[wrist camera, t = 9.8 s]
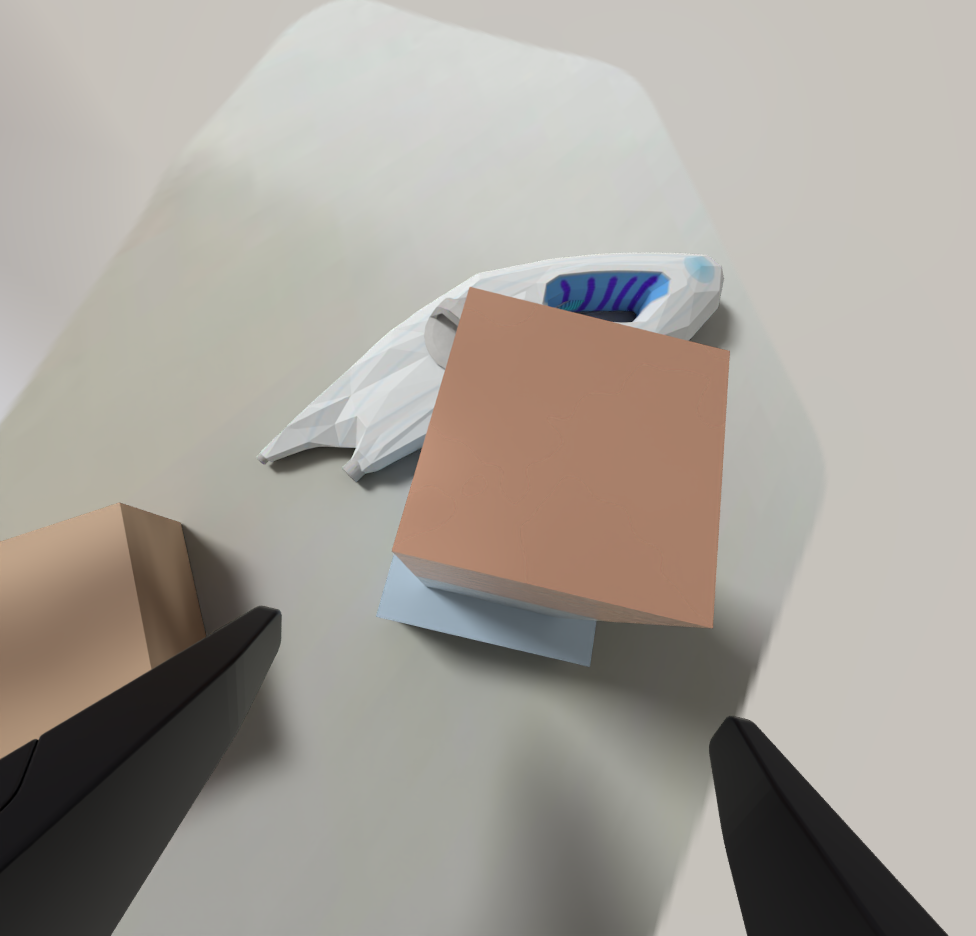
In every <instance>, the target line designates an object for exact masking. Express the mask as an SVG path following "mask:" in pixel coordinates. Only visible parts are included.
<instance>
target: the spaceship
mask: <svg viewBox="0 0 976 936" xmlns="http://www.w3.org/2000/svg"><path fill="white" fill-rule="evenodd" d="M723 280H724V277H723V271H722V266H721V265H720V264H718V263H717V262H716V261H715V260H714V259H712V258H711V257H710V256H709V255H701V254H683V253H641V252H637V253H608V254H593V255H583V256H573V257H563V258H554V259H547V260H542V261H537V262H532V263H527V264H522V265H517V266H512V267H507V268H502V269H497V270H492V271H486V272H481V273H477V274H476V275H474V276H472V277H471V278H469V279H468V280H466V281H465V282H463V283H461V284H460V285H458V286H457V287H455V288H453V289H452V290H450V291H449V292H447V293H445V294H444V295H442V296H441V297H439V298H438V299H436V300H434V301H433V302H431V303H430V304H428V305H426V306H425V307H423V308H422V309H420V310H419V311H417V312H416V313H414V314H413V315H412V316H411V317H409V318H408V319H407V320H405V321H404V322H402V323H401V324H399V325H398V326H396V327H395V328H393V329H392V330H391V331H390V332H388V333H387V334H386V335H385V336H384V337H383V338H382V339H381V340H380V341H379V342H377V343H376V344H375V345H374V346H373V347H372V348H371V349H370V350H369V351H368V352H367V353H366V354H365V355H363V356H362V357H361V358H360V359H359V360H358V361H357V362H356V363H355V364H354V365H353V366H352V367H351V368H350V369H348V370H347V371H346V372H345V373H344V374H343V375H342V376H341V377H339V378H338V379H337V380H336V381H335V382H334V383H333V384H332V385H331V386H329V387H328V388H327V389H326V390H325V391H324V392H323V393H322V394H321V395H319V396H318V397H317V398H316V399H315V400H314V401H313V402H312V403H311V404H309V405H308V406H307V407H306V408H305V409H304V410H303V411H302V412H301V413H300V414H299V415H298V416H297V417H296V418H295V419H294V420H292V421H291V422H290V423H289V424H288V425H287V426H286V427H285V428H284V429H283V430H282V431H281V432H280V433H279V434H278V435H277V436H276V437H275V438H274V439H273V440H272V441H271V442H270V443H269V444H268V445H267V446H266V447H265V448H264V449H263V450H262V451H261V452H260V454H259V455H258V456H256V458H257V459H258V460H259V461H260V462H261V463H263V464H266V463H267V462H268V461H270V462H273V461H275V460H278V459H281V458H283V457H286V456H289V455H292V454H294V453H297V452H300V451H303V450H306V449H310V448H314V447H319V446H320V447H349V448H356V449H355V451H354V453H353V456H352V458H351V459H350V460H349V461H348V462H347V463H346V464H345V465H344V466H343V467H342V469H343V470H344V471H345V472H346V473H347V474H348V475H349V476H350V477H351V478H352V479H353V480H354V481H355V482H357V481H358V480H359V479H360V478H361V477H362V476H363V475H364V474H366V473H371V472H376V471H378V470H380V469H382V468H384V467H386V466H388V465H390V464H391V463H393V462H395V461H397V460H399V459H401V458H403V457H405V456H407V455H409V454H411V453H413V452H414V451H416V450H418V449H420V448H422V447H423V443H424V440H425V436H426V433H427V430H428V426H429V423H430V419H431V416H432V413H433V409H434V406H435V402H436V399H437V396H438V392H439V389H440V385H441V382H442V379H443V375H444V372H445V368H446V365H447V362H448V358H449V355H450V351H451V348H452V345H453V341H454V338H455V334H456V331H457V328H458V324H459V321H460V317H461V314H462V311H463V307H464V304H465V300H466V297H467V294H468V290H469V287H473V288H477V289H481V290H485V291H489V292H493V293H497V294H501V295H505V296H509V297H513V298H517V299H521V300H525V301H530V302H534V303H538V304H542V305H546V306H550V307H554V308H558V309H562V310H566V311H570V312H582V311H633V312H634V313H636V319H635V320H634V321H633V322H625V323H619V322H614V323H618V324H622V325H626V326H631V327H635V328H639V329H643V330H647V331H651V332H655V333H659V334H663V335H667V336H671V337H675V338H679V339H683V340H687V341H689V340H690V339H691V338H692V337H693V335H694V334H695V333H696V332H697V331H698V330H699V329H700V328H701V326H702V325H703V324H704V323H705V322H706V321H707V320H708V319H709V317H710V316H711V315H712V314H713V313H714V312H715V311H716V310H717V308H718V307H719V301H720V296H721V291H722V286H723Z"/></svg>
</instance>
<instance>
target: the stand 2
mask: <svg viewBox="0 0 976 936" xmlns="http://www.w3.org/2000/svg"><path fill="white" fill-rule="evenodd" d="M376 617H380V618H384V619H388V620H393V621H397V622H401V623H405V624H410V625H414V626H418V627H422V628H427V629H431V630H435V631H439V632H444V633H448V634H452V635H456V636H461V637H465V638H469V639H473V640H478V641H482V642H486V643H490V644H494V645H499V646H503V647H507V648H511V649H516V650H520V651H524V652H528V653H533V654H537V655H541V656H545V657H550V658H554V659H558V660H562V661H567V662H571V663H575V664H579V665H584V666H588V667H590V664H591V656H592V649H593V642H594V635H595V627H596V621H594V620H578V619H563V618H556V617H552V616H547V615H543V614H539V613H535V612H531V611H527V610H523V609H518V608H514V607H510V606H506V605H502V604H498V603H493V602H489V601H485V600H481V599H477V598H473V597H468V596H464V595H460V594H456V593H452V592H448V591H443V590H439V589H435V588H431V587H427V586H424V585H423V583H422V582H421V581H420V580H419V579H418V578H417V577H416V576H415V575H414V574H413V573H412V572H411V571H410V570H409V569H408V568H407V567H406V566H405V564H404V563H403V562H402V561H401V560H400V559H399V558H398V557H397V556H396V555H395V554H394V556H393V560H392V563H391V566H390V570H389V573H388V577H387V580H386V584H385V587H384V591H383V594H382V598H381V601H380V605H379V608H378V611H377V615H376Z"/></svg>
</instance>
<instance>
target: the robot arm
mask: <svg viewBox="0 0 976 936" xmlns="http://www.w3.org/2000/svg"><path fill="white" fill-rule="evenodd" d="M281 621H282V615H281V612H280V610H278V609H275V608H270V607H266V606H258V607H256V608H254V609H252V610H251V611H249V612H247V613H245V614H244V615H242V616H240V617H239V618H237V619H235V620H234V621H232V622H230V623H229V624H227V625H225V626H224V627H222V628H220V629H219V630H217V631H215V632H213V633H212V634H210V635H208V636H207V637H205V638H203V639H202V640H200V641H198V642H197V643H195V644H193V645H192V646H190V647H188V648H187V649H185V650H183V651H181V652H180V653H178V654H176V655H175V656H173V657H171V658H170V659H168V660H166V661H165V662H163V663H161V664H160V665H158V666H156V667H154V668H153V669H151V670H149V671H148V672H146V673H144V674H143V675H141V676H139V677H138V678H136V679H134V680H133V681H131V682H129V683H128V684H126V685H124V686H122V687H121V688H119V689H117V690H116V691H114V692H112V693H111V694H109V695H107V696H106V697H104V698H102V699H101V700H99V701H97V702H96V703H94V704H92V705H90V706H89V707H87V708H85V709H84V710H82V711H80V712H79V713H77V714H75V715H74V716H72V717H70V718H69V719H67V720H65V721H64V722H62V723H60V724H58V725H57V726H55V727H53V728H52V729H50V730H48V731H47V732H45V733H43V734H42V735H41V736H40V737H39V739H33V740H31V741H30V742H28V743H26V744H24V745H23V746H21V747H19V748H18V749H16V750H14V751H13V752H11V753H9V754H8V755H6V756H4V757H3V758H1V759H0V936H111V934H112V933H113V931H114V930H115V928H116V926H117V925H118V923H119V922H120V920H121V918H122V917H123V915H124V914H125V912H126V910H127V909H128V907H129V906H130V904H131V902H132V901H133V899H134V897H135V896H136V894H137V893H138V891H139V889H140V888H141V886H142V885H143V883H144V881H145V880H146V878H147V877H148V875H149V873H150V872H151V870H152V869H153V867H154V865H155V864H156V862H157V861H158V859H159V857H160V856H161V854H162V853H163V851H164V849H165V848H166V846H167V845H168V843H169V841H170V840H171V838H172V837H173V835H174V833H175V832H176V830H177V828H178V827H179V825H180V824H181V822H182V820H183V819H184V817H185V816H186V814H187V812H188V811H189V809H190V808H191V806H192V804H193V803H194V801H195V800H196V798H197V796H198V795H199V793H200V792H201V790H202V788H203V787H204V785H205V784H206V782H207V780H208V779H209V777H210V776H211V774H212V772H213V771H214V769H215V768H216V766H217V764H218V763H219V761H220V759H221V758H222V756H223V755H224V753H225V751H226V750H227V748H228V747H229V745H230V743H231V742H232V740H233V738H234V737H235V735H236V733H237V732H238V730H239V728H240V726H241V724H242V722H243V720H244V718H245V716H246V714H247V712H248V710H249V708H250V706H251V704H252V702H253V700H254V698H255V696H256V694H257V692H258V690H259V688H260V686H261V684H262V682H263V680H264V678H265V676H266V674H267V672H268V670H269V668H270V666H271V664H272V662H273V660H274V658H275V656H276V654H277V652H278V649H279V647H280V643H281ZM709 754H710V761H711V767H712V773H713V779H714V786H715V792H716V798H717V804H718V811H719V817H720V823H721V829H722V834H723V839H724V844H725V848H726V853H727V857H728V861H729V865H730V869H731V872H732V877H733V881H734V885H735V889H736V892H737V897H738V901H739V905H740V909H741V912H742V916H743V921H744V925H745V929H746V932H747V936H948V935H947V933H946V932H945V931H944V930H943V929H942V928H941V927H940V926H939V925H938V924H937V923H936V921H935V920H934V919H933V918H932V917H931V916H930V915H929V914H928V913H927V912H926V910H925V909H924V908H923V907H922V906H921V905H920V904H919V903H918V902H917V901H916V900H915V899H914V897H913V896H912V895H911V894H910V893H909V892H908V891H907V890H906V889H905V888H904V886H903V885H902V884H901V883H900V882H899V881H898V880H897V879H896V878H895V877H894V876H893V874H892V873H891V872H890V871H889V870H888V869H887V868H886V867H885V866H884V865H883V864H882V862H881V861H880V860H879V859H878V858H877V857H876V856H875V855H874V854H873V852H871V850H870V849H869V848H868V847H867V846H866V845H865V844H864V843H863V842H862V840H861V839H860V838H859V837H858V836H857V835H856V834H855V833H854V832H853V831H852V830H851V828H850V827H848V825H847V824H846V823H845V822H844V821H843V820H842V819H841V817H840V816H839V815H838V814H837V813H836V812H835V811H834V810H833V809H832V808H831V807H830V805H829V804H828V803H827V802H826V801H825V800H824V799H823V798H822V797H821V796H820V794H819V793H818V792H817V791H816V790H815V789H814V788H813V787H812V786H811V785H810V784H809V782H808V781H807V780H806V779H805V778H804V777H803V776H802V775H801V774H800V773H799V772H798V770H797V769H796V768H795V767H794V766H793V765H792V764H791V763H790V762H789V761H788V759H786V757H784V755H783V754H782V753H781V752H780V751H779V750H778V749H777V748H776V746H775V745H774V744H773V743H772V742H771V741H770V740H769V739H768V738H767V736H766V735H765V734H764V733H763V732H762V731H761V730H760V729H759V728H758V727H757V726H756V725H755V724H754V723H753V722H752V721H750V720H748V719H744V718H740V717H736V716H729V717H727V718H726V719H725V720H724V722H723V723H722V724H721V726H720V727H719V729H718V730H717V731H716V733H715V734H714V736H713V737H712V739H711V741H710V745H709Z"/></svg>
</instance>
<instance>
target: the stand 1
mask: <svg viewBox="0 0 976 936" xmlns="http://www.w3.org/2000/svg"><path fill="white" fill-rule="evenodd" d="M205 637H206V633H205V629H204V624H203V620H202V616H201V611H200V607H199V602H198V598H197V593H196V589H195V584H194V580H193V575H192V571H191V567H190V562H189V558H188V553H187V549H186V544H185V540H184V535H183V531H182V526H181V523H180V522H177V521H174V520H171V519H168V518H165V517H162V516H159V515H156V514H153V513H150V512H147V511H144V510H141V509H138V508H135V507H132V506H129V505H126V504H123V503H117V504H114V505H111V506H108V507H105V508H102V509H99V510H95V511H92V512H89V513H86V514H83V515H80V516H77V517H74V518H71V519H68V520H65V521H62V522H59V523H56V524H53V525H50V526H47V527H44V528H41V529H38V530H35V531H31V532H28V533H25V534H22V535H19V536H16V537H13V538H10V539H7V540H4V541H1V542H0V759H1V758H3V757H4V756H6V755H8V754H9V753H11V752H13V751H14V750H16V749H18V748H19V747H21V746H23V745H24V744H26V743H28V742H30V741H31V740H33V739H39V737H40V736H41V735H42V734H43V733H45V732H47V731H48V730H50V729H52V728H53V727H55V726H57V725H58V724H60V723H62V722H64V721H65V720H67V719H69V718H70V717H72V716H74V715H75V714H77V713H79V712H80V711H82V710H84V709H85V708H87V707H89V706H90V705H92V704H94V703H96V702H97V701H99V700H101V699H102V698H104V697H106V696H107V695H109V694H111V693H112V692H114V691H116V690H117V689H119V688H121V687H122V686H124V685H126V684H128V683H129V682H131V681H133V680H134V679H136V678H138V677H139V676H141V675H143V674H144V673H146V672H148V671H149V670H151V669H153V668H154V667H156V666H158V665H160V664H161V663H163V662H165V661H166V660H168V659H170V658H171V657H173V656H175V655H176V654H178V653H180V652H181V651H183V650H185V649H187V648H188V647H190V646H192V645H193V644H195V643H197V642H198V641H200V640H202V639H203V638H205Z"/></svg>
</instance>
